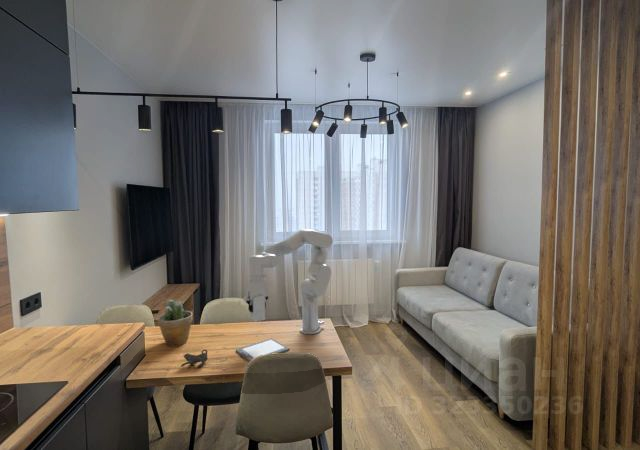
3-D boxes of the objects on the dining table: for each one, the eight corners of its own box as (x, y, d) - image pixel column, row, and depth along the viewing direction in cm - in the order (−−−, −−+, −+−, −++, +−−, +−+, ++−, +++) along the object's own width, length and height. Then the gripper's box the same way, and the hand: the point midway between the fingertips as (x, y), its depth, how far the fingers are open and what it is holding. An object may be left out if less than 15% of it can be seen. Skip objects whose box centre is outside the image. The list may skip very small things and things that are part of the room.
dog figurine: (208, 361, 169) (208, 347, 169) (207, 367, 164) (206, 352, 163) (183, 363, 167) (182, 349, 166) (180, 369, 161) (180, 354, 161)
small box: (265, 319, 183) (265, 296, 182) (254, 321, 180) (253, 297, 179) (260, 315, 190) (260, 292, 189) (249, 317, 187) (249, 294, 186)
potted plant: (151, 345, 189) (149, 301, 187) (179, 333, 206) (177, 293, 204) (174, 351, 181) (171, 305, 179) (201, 338, 197) (199, 296, 195)
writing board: (271, 339, 193) (271, 336, 193) (289, 350, 180) (289, 346, 179) (235, 351, 180) (235, 347, 179) (252, 363, 166) (252, 359, 166)
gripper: (267, 274, 191) (267, 305, 193) (238, 279, 181) (239, 311, 182) (274, 276, 186) (274, 308, 187) (245, 281, 175) (245, 315, 176)
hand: (257, 310), depth 184 cm, fingers closed on small box, 6 cm apart
